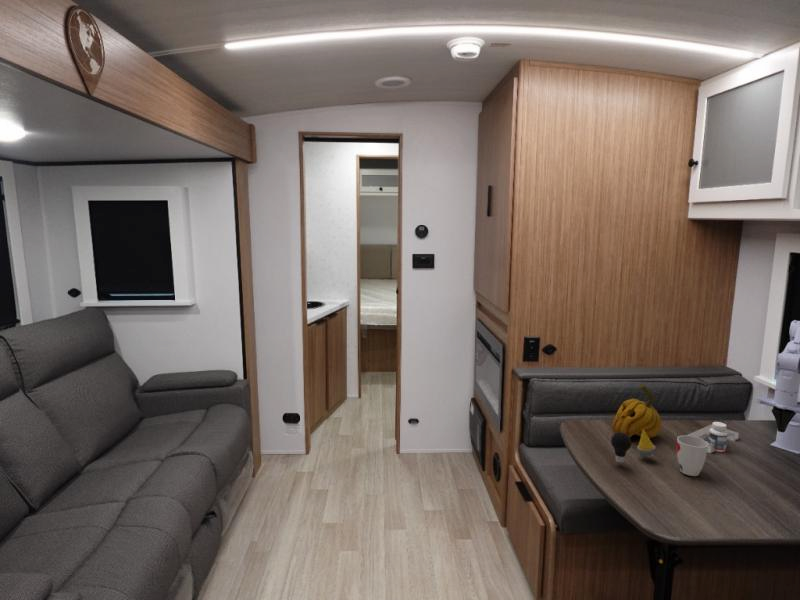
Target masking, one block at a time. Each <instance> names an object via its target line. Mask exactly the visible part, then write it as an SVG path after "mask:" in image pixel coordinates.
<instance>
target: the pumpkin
mask: <svg viewBox="0 0 800 600" xmlns="http://www.w3.org/2000/svg"><path fill="white" fill-rule="evenodd" d="M638 388H639V389H640V390H641V391H642V392H644V393H645V394H646V395H647V396H648V398H649V399H648V400H646V402H645V401H642V400H640V399H637V398H630V399H627V400H624V401H623V402H622V403H621V405H620V407H619V408H618V410H617V411H616V414H615V416H614V418H613V421H612V423H611V429H612V432H613V433H614V434H615V433H618V432H621V433H625V434H627V435H628V436H629V437H630V438H631V437H633V436H634V435H637V436H639V437H640V438H641V435H642V431H643V429H644V431H645V432H646V435H647V436H648V437H649V439H652V438H655V437H656V436H657V435H659V434H660V431H661V429H662V418H661V417H660V416H661V415H659V412H658V411H657V410H656V409H655V408H654V407H653V405H652V403H654V401H655V395H654V393H653V392H652V391H651V390H650V389H649V388H648V387H647V386H646V385H645V384H644V383H641V384H639V386H638Z"/></svg>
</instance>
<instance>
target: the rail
mask: <svg viewBox="0 0 800 600" xmlns="http://www.w3.org/2000/svg"><path fill="white" fill-rule="evenodd" d="M711 428H713V427H712V424H709V425H707V426H704V427H703V428H700V429H697V430H695V431H693V432H691V433H688V434H685V436H693V437H697V438H700V439H702V440H704V441H706V442H707V443H708V449H707V454H708V453H709V454H712V453H715V452H716V451H715V444H713V443H710V442H708V438H709V430H710V429H711ZM726 431H727V433H728V437H727V440H729V441H733V442H736V441H737V440H739V433H740V432H737V431H733V430H730V429H727V428H726Z"/></svg>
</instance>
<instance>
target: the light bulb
mask: <svg viewBox="0 0 800 600" xmlns="http://www.w3.org/2000/svg"><path fill="white" fill-rule="evenodd" d="M610 444H611V446H612V447H613V449H614V455H615V462H617V463H618V464H622V463H624V462H625V456H626V454H627V452H628V450H629V449H630V448H631V446H632V440H631V437H629V436H628V435H627V434H625V433H621V432H618V433H614V434H612V436H611V438H610Z"/></svg>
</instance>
